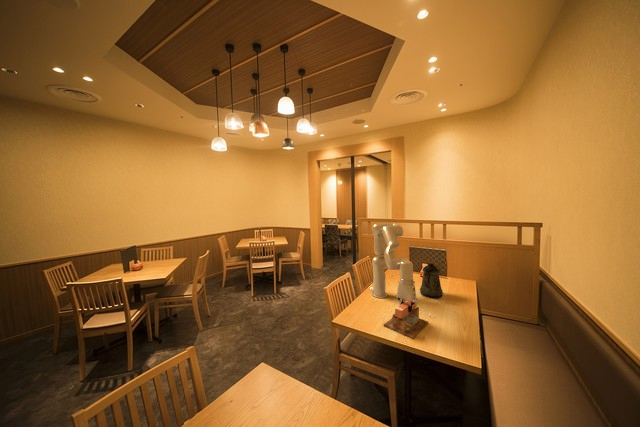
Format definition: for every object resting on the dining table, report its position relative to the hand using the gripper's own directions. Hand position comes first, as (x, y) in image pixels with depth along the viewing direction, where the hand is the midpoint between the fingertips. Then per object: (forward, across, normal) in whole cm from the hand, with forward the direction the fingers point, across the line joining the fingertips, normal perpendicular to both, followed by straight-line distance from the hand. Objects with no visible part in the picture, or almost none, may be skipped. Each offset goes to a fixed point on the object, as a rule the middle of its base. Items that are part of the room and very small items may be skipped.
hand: (406, 309), depth 136 cm
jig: (+9, 0, 0) cm, 9 cm away
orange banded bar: (+1, 0, 0) cm, 1 cm away
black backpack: (+10, +5, -54) cm, 55 cm away
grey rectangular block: (+8, 0, 0) cm, 8 cm away
